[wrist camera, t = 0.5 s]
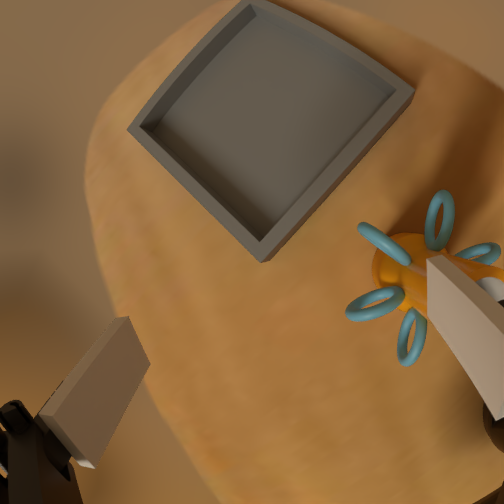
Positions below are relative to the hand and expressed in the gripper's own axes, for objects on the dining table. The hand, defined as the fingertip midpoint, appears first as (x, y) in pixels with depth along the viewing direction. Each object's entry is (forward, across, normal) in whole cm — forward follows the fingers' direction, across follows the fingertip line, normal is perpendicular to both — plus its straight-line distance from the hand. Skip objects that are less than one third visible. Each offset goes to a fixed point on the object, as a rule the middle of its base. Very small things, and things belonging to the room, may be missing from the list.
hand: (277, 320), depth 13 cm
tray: (+20, -1, -10) cm, 23 cm away
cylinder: (+13, -10, +5) cm, 18 cm away
